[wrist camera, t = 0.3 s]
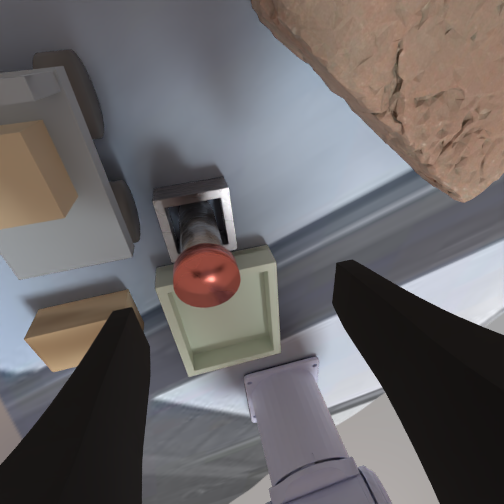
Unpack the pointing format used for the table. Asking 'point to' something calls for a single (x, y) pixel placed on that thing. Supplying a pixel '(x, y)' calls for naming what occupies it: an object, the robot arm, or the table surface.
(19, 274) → the trolley
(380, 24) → the brick
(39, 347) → the block
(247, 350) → the tray
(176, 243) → the socket
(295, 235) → the table surface
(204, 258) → the pin
